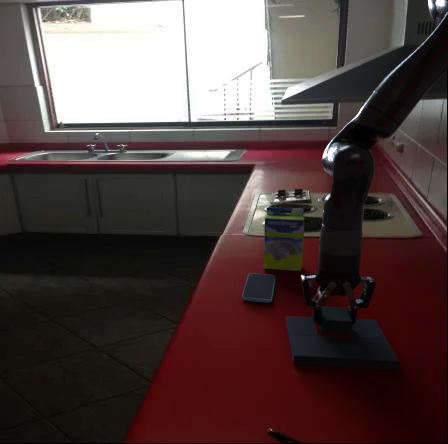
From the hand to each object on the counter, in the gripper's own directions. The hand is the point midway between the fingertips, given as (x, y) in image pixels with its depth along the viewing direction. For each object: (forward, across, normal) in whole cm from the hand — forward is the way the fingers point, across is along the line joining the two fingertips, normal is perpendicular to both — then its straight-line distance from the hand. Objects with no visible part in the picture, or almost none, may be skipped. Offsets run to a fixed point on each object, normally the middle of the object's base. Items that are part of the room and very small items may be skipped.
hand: (333, 323), depth 85 cm
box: (+3, -7, +34) cm, 34 cm away
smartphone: (+3, -14, +20) cm, 24 cm away
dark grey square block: (+1, 0, 0) cm, 1 cm away
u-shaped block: (+3, 0, -4) cm, 5 cm away
